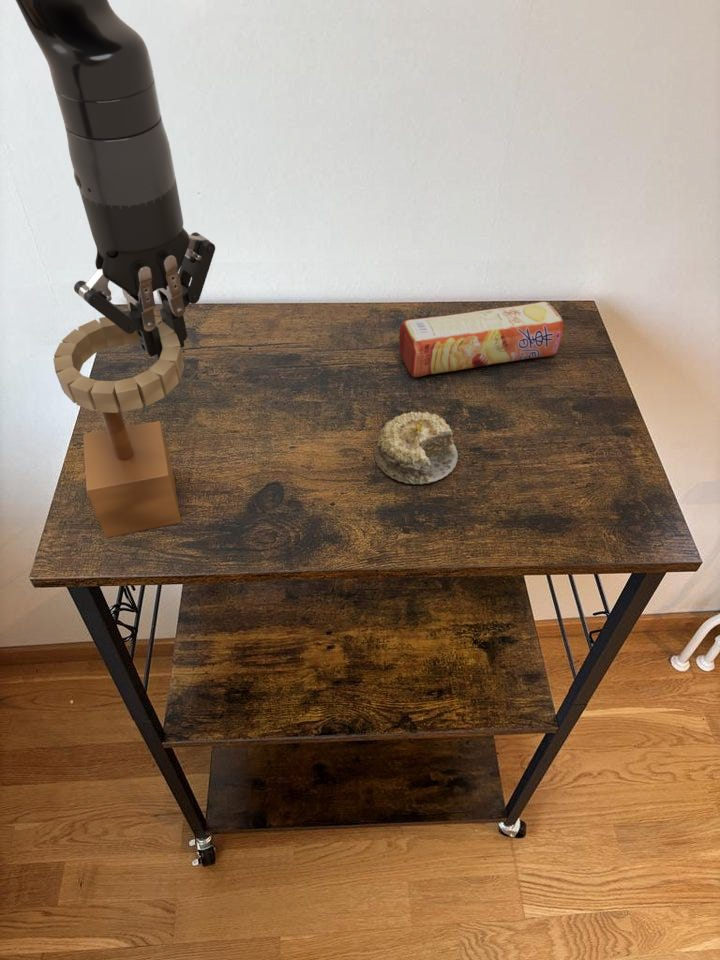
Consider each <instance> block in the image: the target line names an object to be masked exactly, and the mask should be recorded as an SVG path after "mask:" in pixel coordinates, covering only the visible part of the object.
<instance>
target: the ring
mask: <svg viewBox="0 0 720 960" xmlns="http://www.w3.org/2000/svg"><path fill="white" fill-rule="evenodd" d="M98 320H99V321H98ZM98 320H97V319H93V320H91V321H88V322H87V323H84V324H82V325H79V326H78V327H77V329H73V330H72V331H70V333H69V334H67V335H66V336H65V337H64V338H63V339H62V340H61V342H59V344H58V346H57V347H56V350H55V351H54V353H53V354H54V355H53V365H54V372H55V374H56V377H57V379H58V382H59V384H60V387H61V390H62V392H63V394H64V395H66V397H67V398H69V400H70V401H71V402H72V403H73V404H76V406H78V407H80V408H84V409H86V410H89V411H92V412H95V411H96V412H97V413H101V412H109V413H118V412H119V409H120V410H121V413H126V412H131V411H134V410H139V409H143V408H144V405H145V406H146V407H149V406H151V405H152V404H154V403H156V402H158V401H160V400H161V399H164V398H165V396H166V395H169V393H171V392H172V391H173V390H174V389H175V387H177V385H178V384H179V383H180V382H179V381H181V379H182V375H183V373H184V369H185V362H184V357H183V351H182V348H181V346H180V343H179V340H178V337H177V334H176V333H175V332H174V330H172V329H171V328H170V327H169V326H168V325H166V324H165V323H164V322H162V319H161V320H160V319H158V318H155V322H156V326H157V327H158V329H159V334H160V338H161V339H160V341H161V345H162V352H161V355H160V358H159V360H156V362H154V363H153V365H152V366H151V367H149V369H147V370H145V371H143V372H141V373H139V374H137V375H135V376H133V377H128V378H124V379H119V380H97V379H94V378H91V377H88V376H86V375H83V374H82V373H81V370H82V367H83V365H84V364H85V363H86V362H88V360H89V359H90V358H91V357H93V356H94V355H95V354H97V353H99V352H102V351H104V350H105V349H107V348H110V347H116V346H120V345H121V346H122V345H125V344H126V345H127V344H129V345H140V344H139V340H138V336H137V332H136V331H135V332H134V333H132V334H128V333H126V332H125V331H124V330H122V329H121V328H120V327H118V326H117V325H116V324H114V323H113V322H112V321H110V320H109V319H108V318H106V317H105V316H102V317H98Z"/></svg>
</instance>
